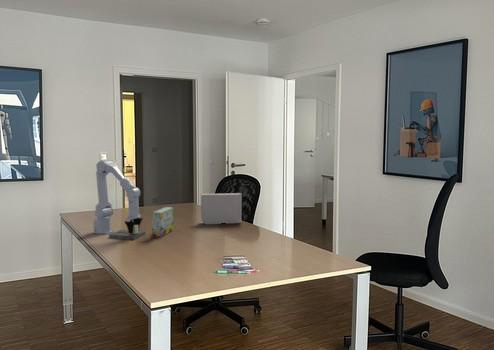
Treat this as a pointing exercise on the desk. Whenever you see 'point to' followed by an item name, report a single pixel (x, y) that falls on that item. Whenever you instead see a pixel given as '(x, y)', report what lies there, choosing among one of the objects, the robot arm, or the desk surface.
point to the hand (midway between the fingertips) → (133, 231)
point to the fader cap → (135, 229)
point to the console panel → (126, 235)
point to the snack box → (162, 222)
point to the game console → (221, 208)
